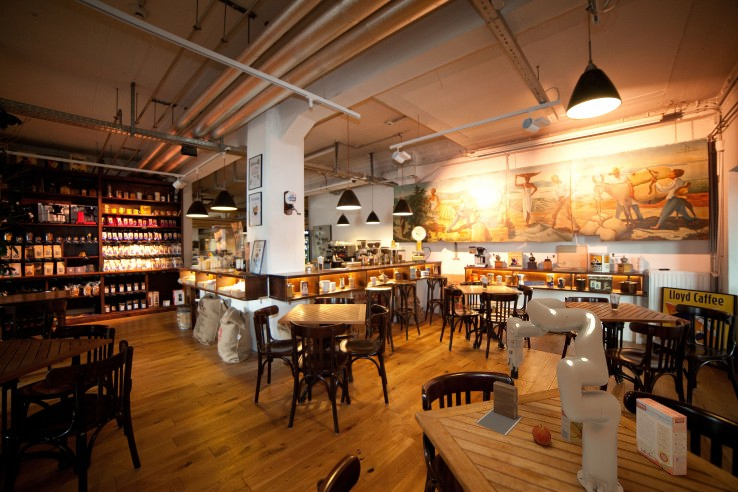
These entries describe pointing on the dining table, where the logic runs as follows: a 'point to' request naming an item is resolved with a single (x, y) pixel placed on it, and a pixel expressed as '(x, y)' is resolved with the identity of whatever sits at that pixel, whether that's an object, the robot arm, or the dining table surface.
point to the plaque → (506, 400)
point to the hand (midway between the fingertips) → (514, 378)
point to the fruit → (541, 434)
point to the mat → (498, 422)
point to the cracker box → (662, 435)
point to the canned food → (571, 429)
